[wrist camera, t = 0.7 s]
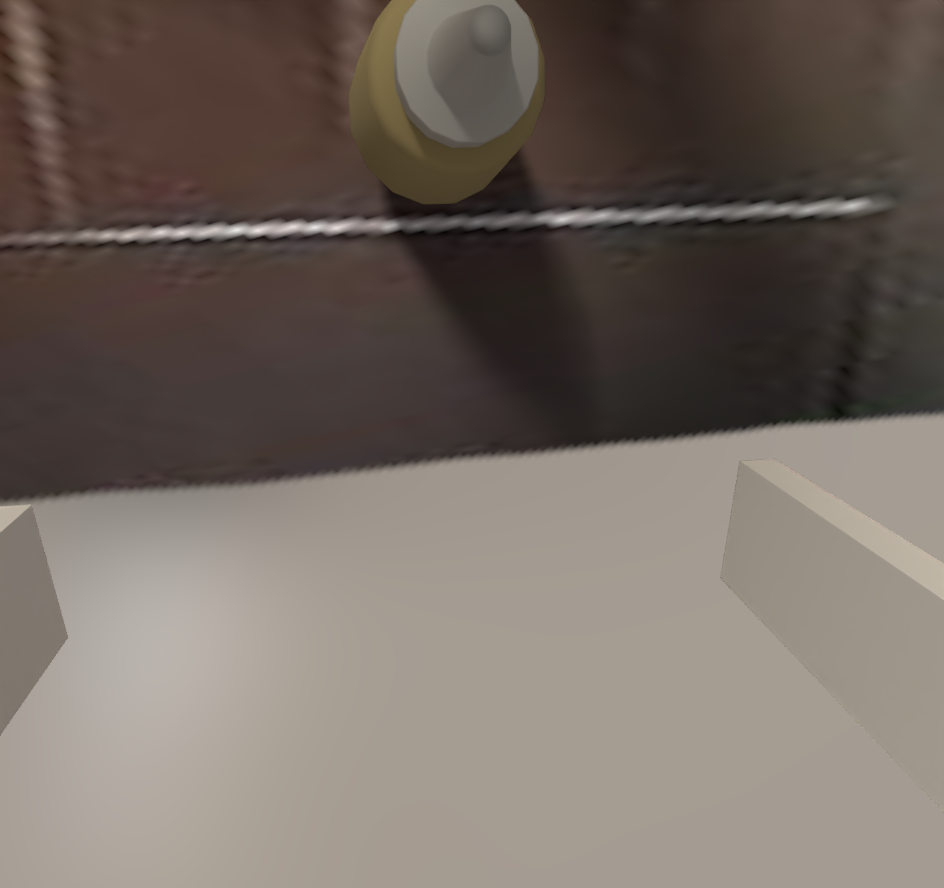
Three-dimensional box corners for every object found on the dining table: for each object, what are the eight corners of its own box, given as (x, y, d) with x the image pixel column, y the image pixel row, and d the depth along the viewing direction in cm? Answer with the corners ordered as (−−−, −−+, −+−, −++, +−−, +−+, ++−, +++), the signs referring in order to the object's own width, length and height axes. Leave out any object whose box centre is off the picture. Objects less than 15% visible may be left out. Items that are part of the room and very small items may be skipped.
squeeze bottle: (413, 237, 35) (456, 256, 18) (317, 102, 32) (261, -24, 15) (531, 145, 34) (688, 78, 17) (443, -1, 31) (531, -251, 15)
